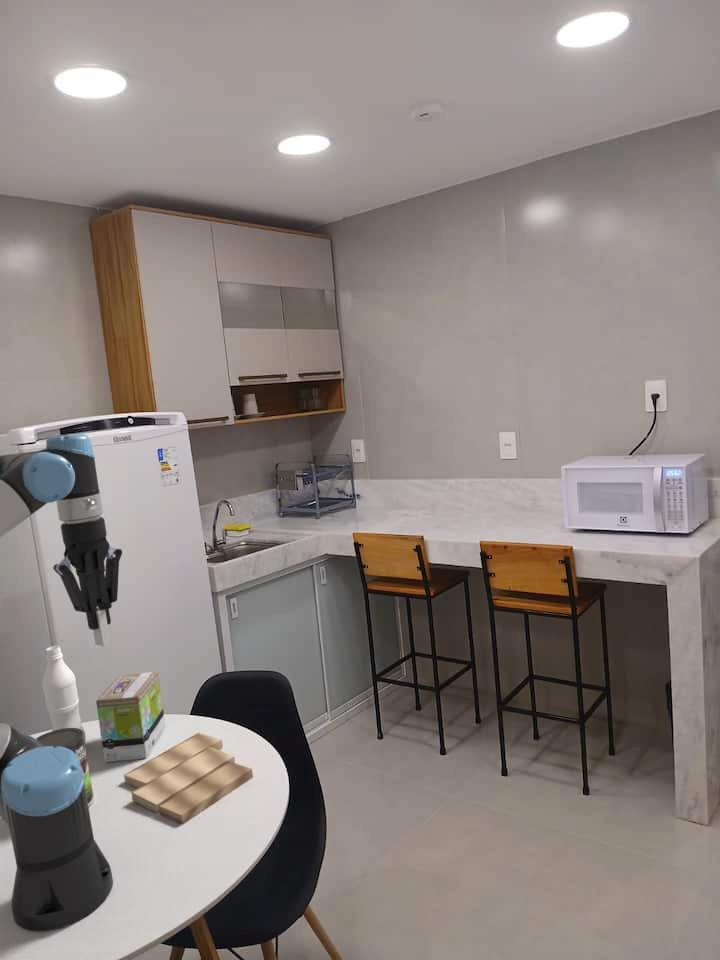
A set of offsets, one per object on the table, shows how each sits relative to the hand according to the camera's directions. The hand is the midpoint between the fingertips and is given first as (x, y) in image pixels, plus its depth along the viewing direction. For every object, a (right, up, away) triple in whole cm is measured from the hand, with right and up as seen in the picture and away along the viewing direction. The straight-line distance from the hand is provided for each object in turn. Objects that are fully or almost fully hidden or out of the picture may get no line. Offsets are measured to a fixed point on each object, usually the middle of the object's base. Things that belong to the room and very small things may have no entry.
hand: (103, 643), depth 137 cm
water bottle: (-20, -33, +36) cm, 52 cm away
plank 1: (+8, -31, +23) cm, 39 cm away
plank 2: (+12, -31, +14) cm, 36 cm away
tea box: (-4, -31, +35) cm, 47 cm away
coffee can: (-11, -35, +11) cm, 38 cm away
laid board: (+18, -32, +9) cm, 37 cm away
